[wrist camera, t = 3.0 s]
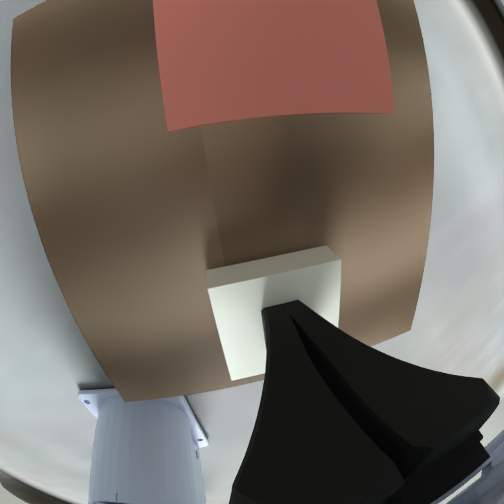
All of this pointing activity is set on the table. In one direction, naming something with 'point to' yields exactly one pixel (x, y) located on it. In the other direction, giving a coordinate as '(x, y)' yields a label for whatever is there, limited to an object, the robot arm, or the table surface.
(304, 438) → the robot arm
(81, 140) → the panel
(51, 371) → the table surface
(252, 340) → the cream button
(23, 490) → the table surface
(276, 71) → the red button
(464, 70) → the table surface
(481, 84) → the table surface
